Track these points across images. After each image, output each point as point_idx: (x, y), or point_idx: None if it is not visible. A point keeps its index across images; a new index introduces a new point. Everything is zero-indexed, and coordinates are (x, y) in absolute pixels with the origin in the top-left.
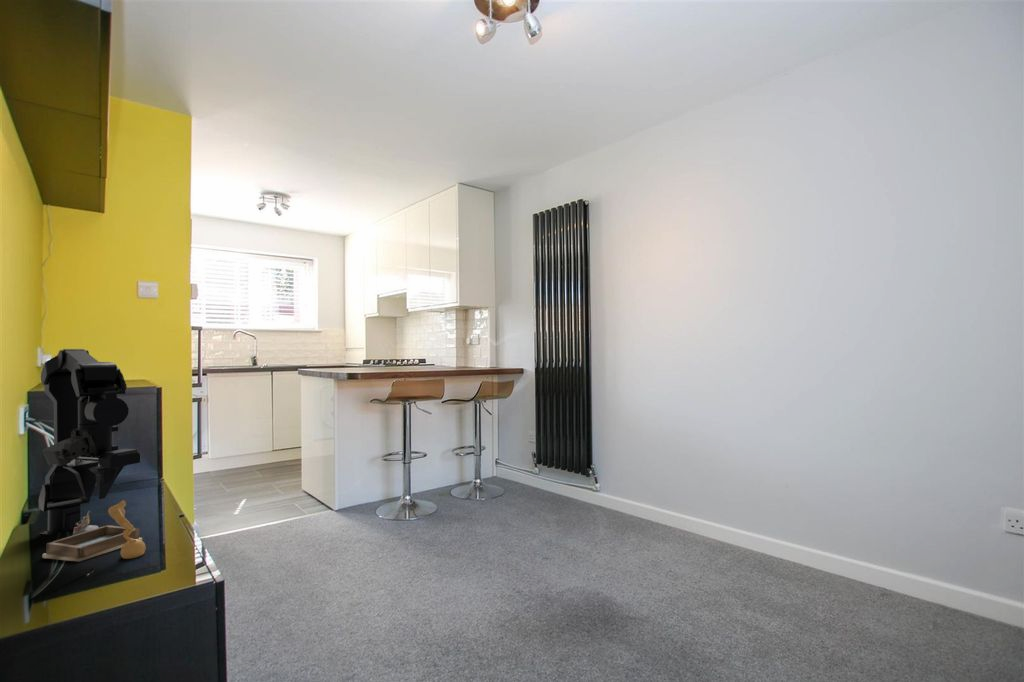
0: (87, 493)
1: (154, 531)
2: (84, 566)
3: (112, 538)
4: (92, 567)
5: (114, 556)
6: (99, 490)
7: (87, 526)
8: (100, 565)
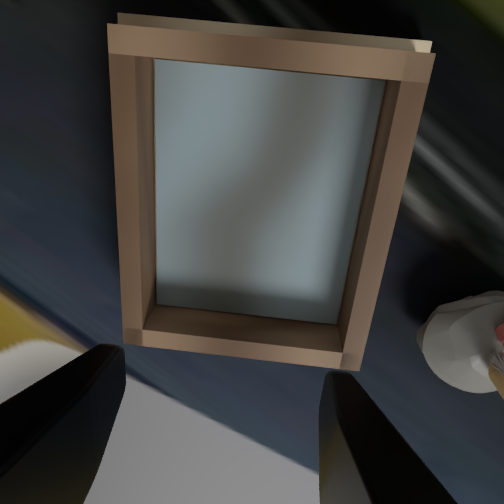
0: (326, 413)
1: (224, 418)
2: (79, 5)
3: (117, 213)
4: (24, 3)
5: (80, 152)
6: (10, 399)
7: (474, 354)
8: (15, 36)
